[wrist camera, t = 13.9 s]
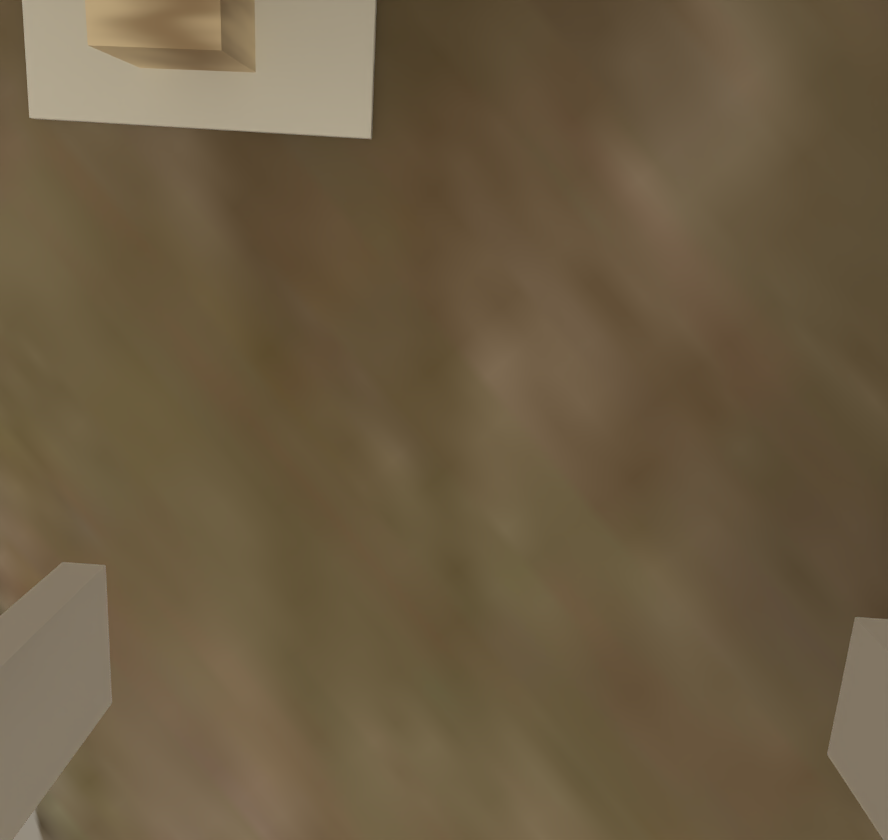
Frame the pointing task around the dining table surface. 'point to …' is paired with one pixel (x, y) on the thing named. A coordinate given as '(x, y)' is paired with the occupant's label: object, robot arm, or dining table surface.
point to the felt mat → (214, 74)
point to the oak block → (175, 33)
